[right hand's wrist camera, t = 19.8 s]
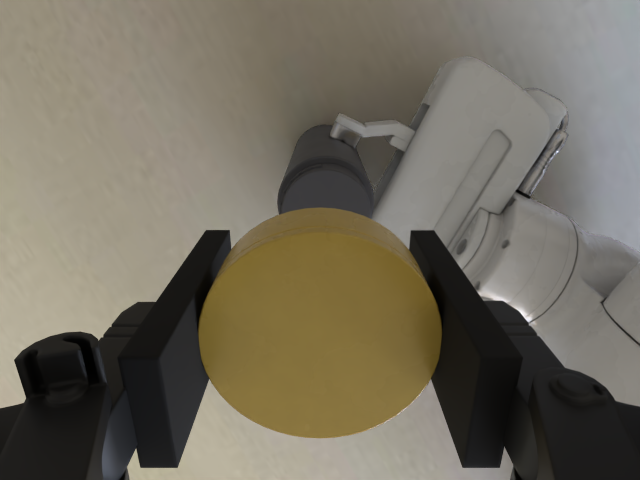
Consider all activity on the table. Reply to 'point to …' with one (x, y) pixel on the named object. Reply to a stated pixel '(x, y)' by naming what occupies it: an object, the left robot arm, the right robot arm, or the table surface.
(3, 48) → the table surface
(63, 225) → the table surface
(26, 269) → the table surface
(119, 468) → the right robot arm
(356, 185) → the jar
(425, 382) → the lid
